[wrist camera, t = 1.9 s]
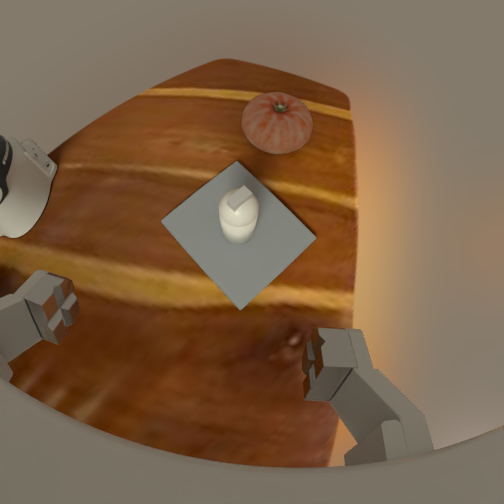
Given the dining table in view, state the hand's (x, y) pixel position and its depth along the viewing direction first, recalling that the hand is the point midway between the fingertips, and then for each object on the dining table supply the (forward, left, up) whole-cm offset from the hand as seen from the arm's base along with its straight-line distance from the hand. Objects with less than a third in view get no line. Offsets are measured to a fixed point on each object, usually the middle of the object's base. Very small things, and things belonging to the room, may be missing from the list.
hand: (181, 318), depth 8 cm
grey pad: (-8, +10, -27) cm, 30 cm away
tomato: (-16, +25, -28) cm, 40 cm away
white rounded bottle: (-8, +10, -26) cm, 29 cm away
